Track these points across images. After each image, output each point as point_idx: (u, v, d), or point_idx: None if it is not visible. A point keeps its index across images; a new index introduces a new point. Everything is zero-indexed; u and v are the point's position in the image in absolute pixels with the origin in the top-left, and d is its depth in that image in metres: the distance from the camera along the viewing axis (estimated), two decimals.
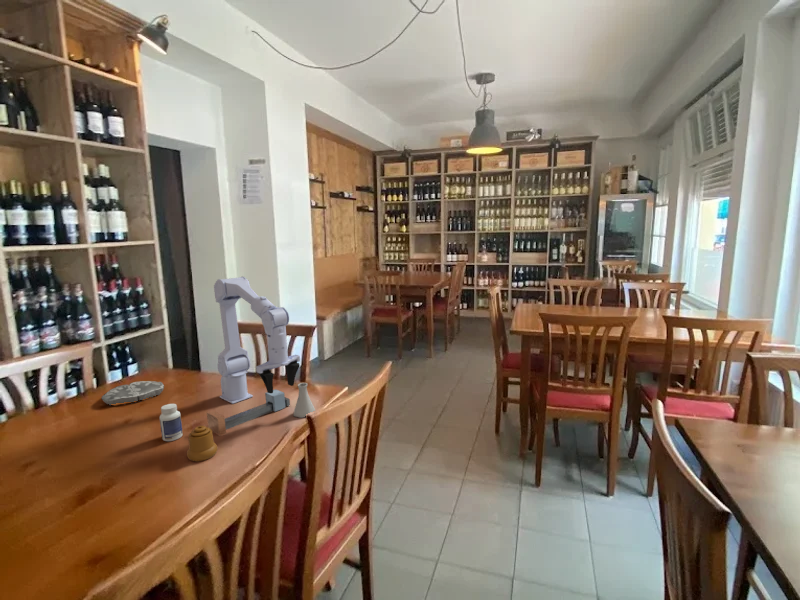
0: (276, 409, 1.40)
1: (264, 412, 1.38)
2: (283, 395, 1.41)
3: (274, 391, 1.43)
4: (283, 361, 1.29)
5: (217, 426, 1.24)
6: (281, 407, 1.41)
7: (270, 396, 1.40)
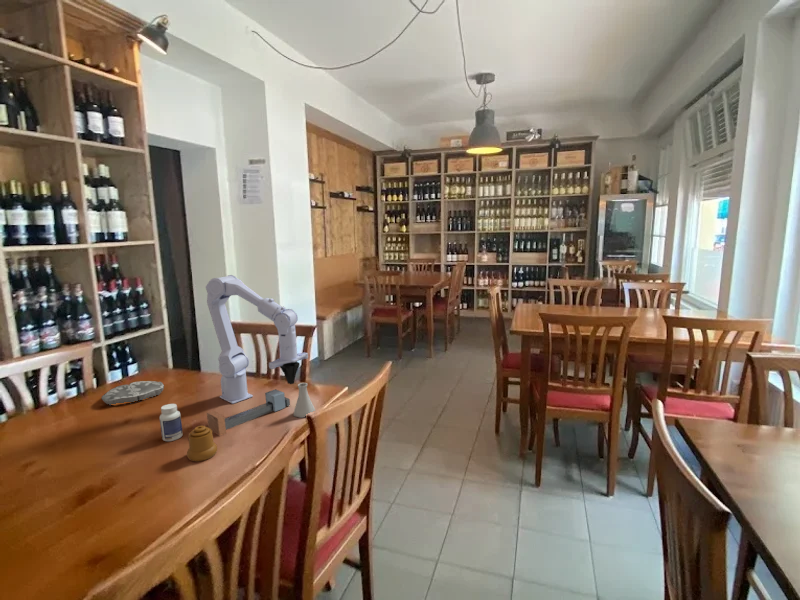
0: (276, 409, 1.40)
1: (264, 412, 1.38)
2: (283, 395, 1.41)
3: (274, 391, 1.43)
4: (293, 358, 1.42)
5: (217, 426, 1.24)
6: (281, 407, 1.41)
7: (270, 396, 1.40)
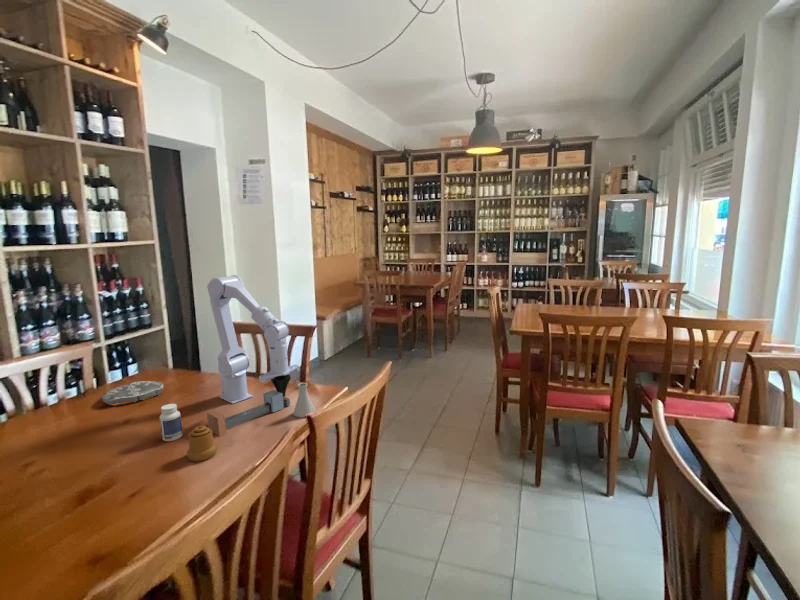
0: (274, 410, 1.39)
1: (264, 412, 1.38)
2: (281, 396, 1.41)
3: (272, 392, 1.42)
4: (284, 371, 1.40)
5: (217, 426, 1.24)
6: (279, 408, 1.40)
7: (268, 397, 1.39)
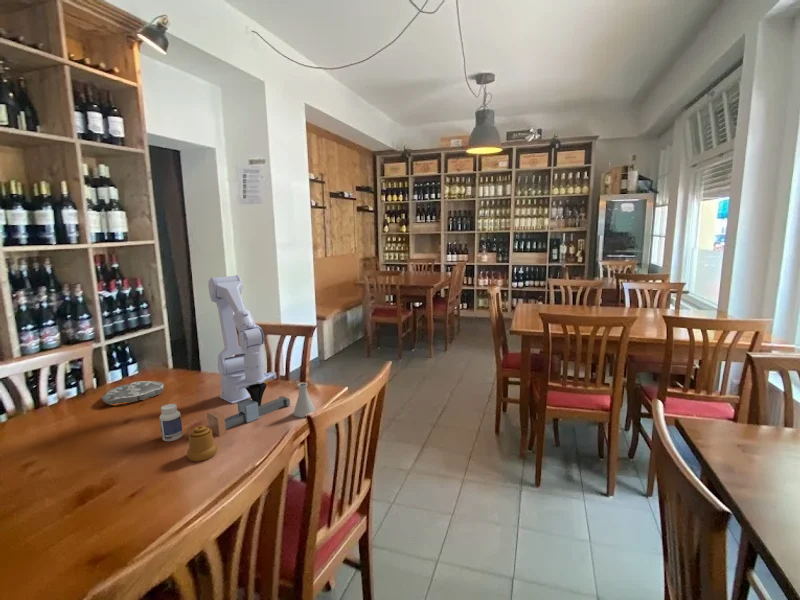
0: (249, 420, 1.32)
1: (264, 412, 1.38)
2: (256, 405, 1.34)
3: (247, 401, 1.35)
4: (259, 379, 1.33)
5: (217, 426, 1.24)
6: (254, 418, 1.34)
7: (242, 406, 1.32)
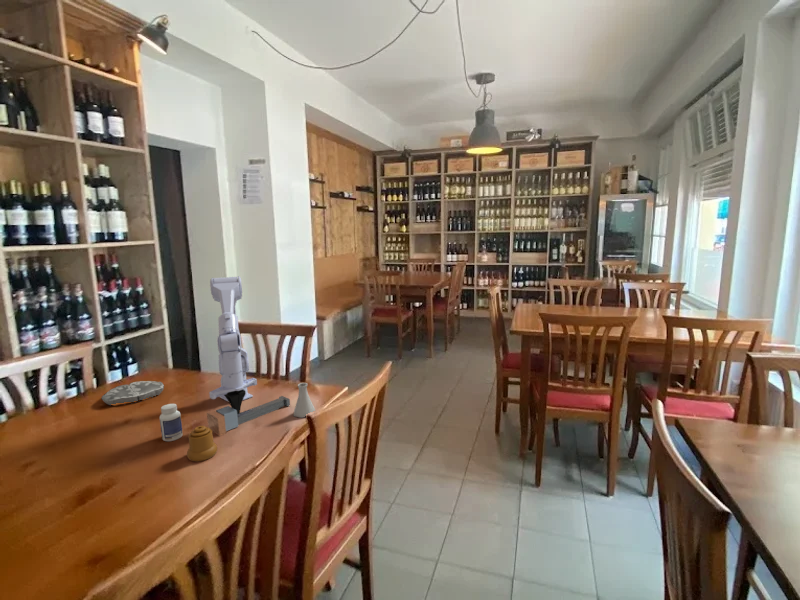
0: (227, 428, 1.27)
1: (264, 412, 1.38)
2: (235, 413, 1.28)
3: (226, 408, 1.30)
4: (238, 386, 1.28)
5: (217, 426, 1.24)
6: (233, 426, 1.28)
7: (221, 414, 1.27)
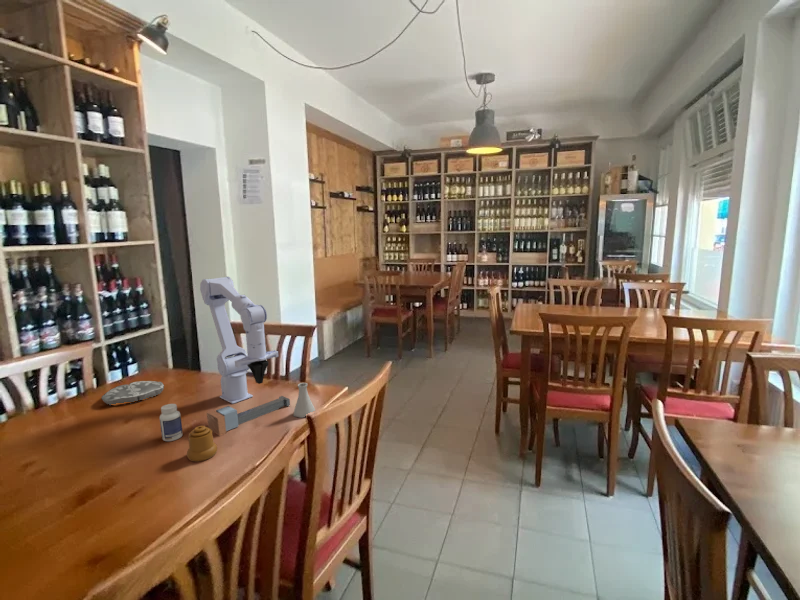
0: (227, 428, 1.27)
1: (264, 412, 1.38)
2: (235, 413, 1.28)
3: (226, 408, 1.30)
4: (261, 356, 1.36)
5: (217, 426, 1.24)
6: (233, 426, 1.28)
7: (221, 414, 1.27)
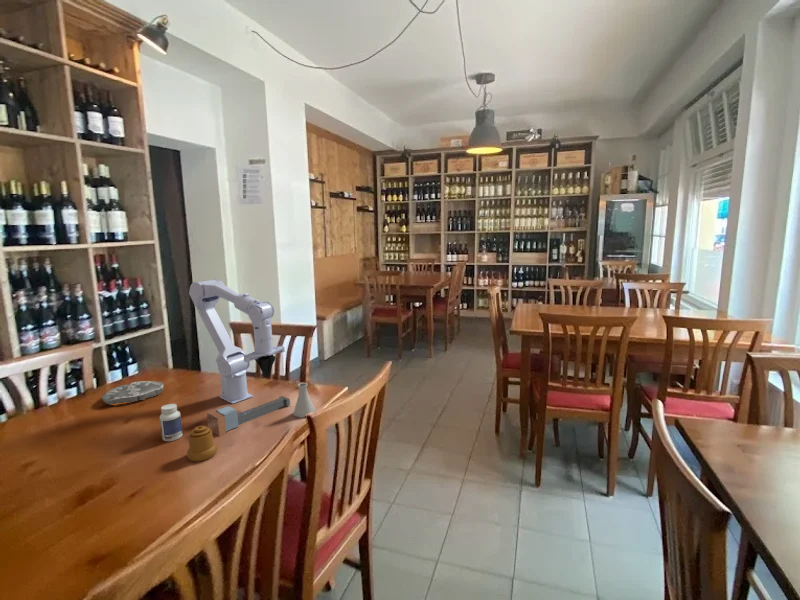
0: (227, 428, 1.27)
1: (264, 412, 1.38)
2: (235, 413, 1.28)
3: (226, 408, 1.30)
4: (268, 351, 1.41)
5: (217, 426, 1.24)
6: (233, 426, 1.28)
7: (221, 414, 1.27)
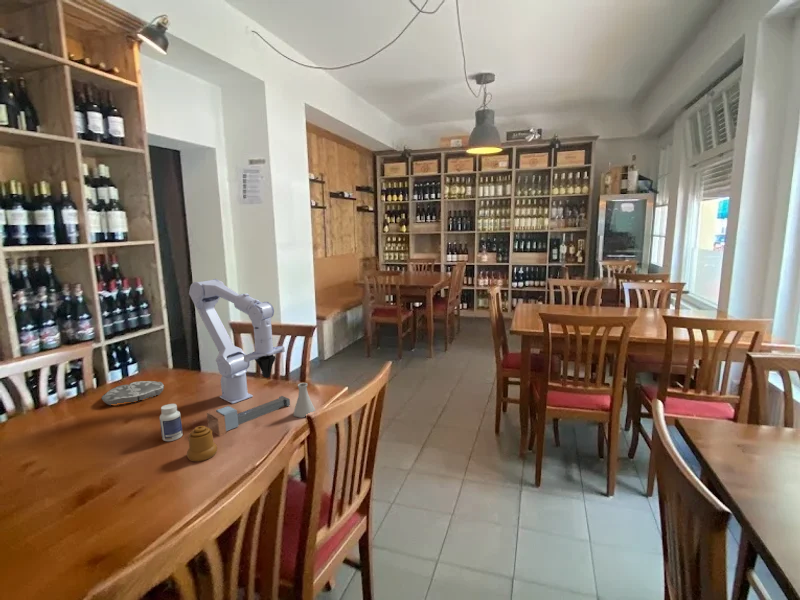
0: (227, 428, 1.27)
1: (264, 412, 1.38)
2: (235, 413, 1.28)
3: (226, 408, 1.30)
4: (268, 351, 1.41)
5: (217, 426, 1.24)
6: (233, 426, 1.28)
7: (221, 414, 1.27)
